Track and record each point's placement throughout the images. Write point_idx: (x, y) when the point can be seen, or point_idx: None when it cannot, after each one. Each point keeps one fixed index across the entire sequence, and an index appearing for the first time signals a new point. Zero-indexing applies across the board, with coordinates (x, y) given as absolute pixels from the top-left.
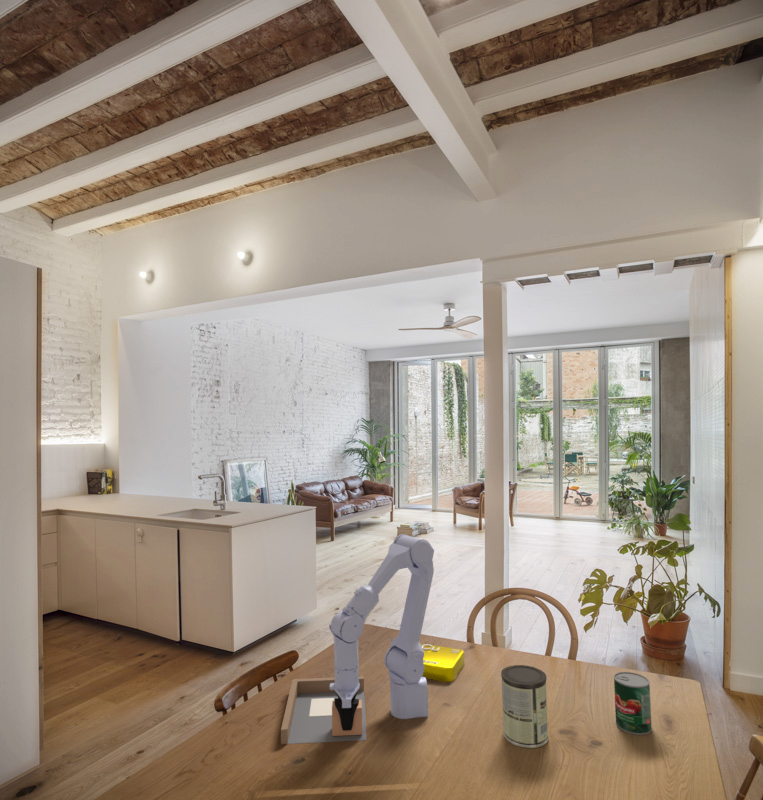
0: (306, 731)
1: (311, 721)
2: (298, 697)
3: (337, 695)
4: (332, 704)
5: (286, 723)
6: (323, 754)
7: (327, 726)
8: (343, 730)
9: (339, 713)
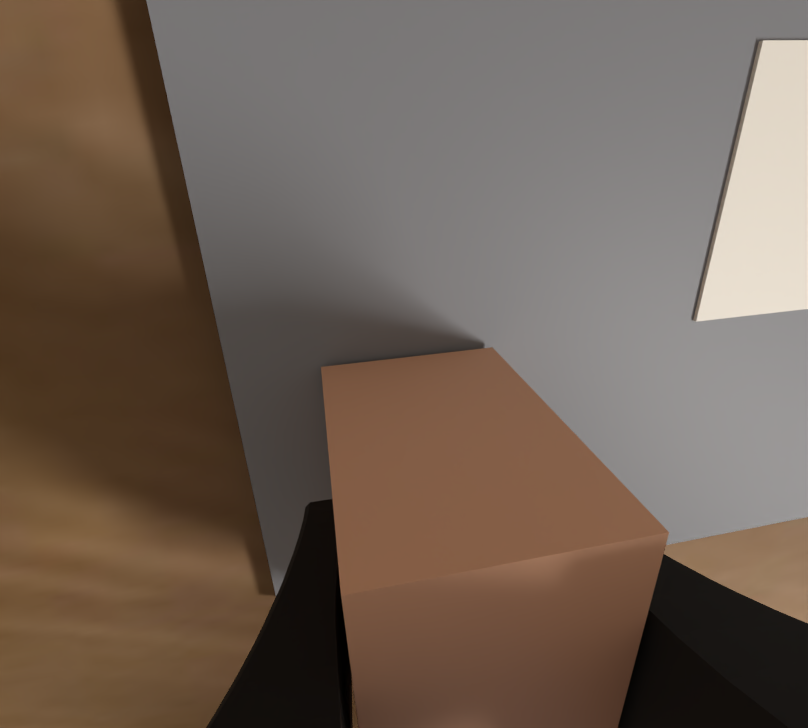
0: (438, 35)
1: (651, 86)
2: None
3: (730, 690)
4: (535, 564)
5: None
6: (47, 299)
7: (516, 290)
8: (306, 509)
9: (219, 711)
